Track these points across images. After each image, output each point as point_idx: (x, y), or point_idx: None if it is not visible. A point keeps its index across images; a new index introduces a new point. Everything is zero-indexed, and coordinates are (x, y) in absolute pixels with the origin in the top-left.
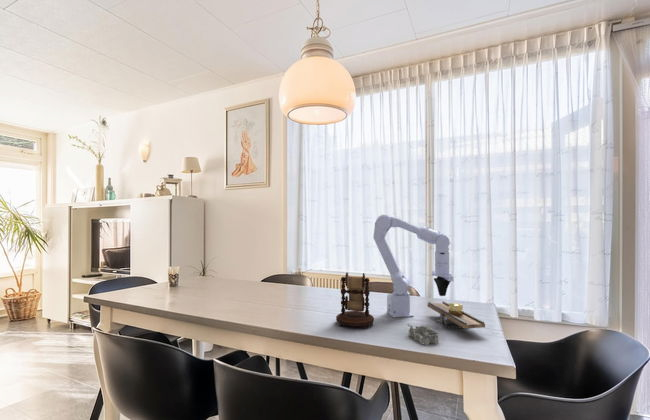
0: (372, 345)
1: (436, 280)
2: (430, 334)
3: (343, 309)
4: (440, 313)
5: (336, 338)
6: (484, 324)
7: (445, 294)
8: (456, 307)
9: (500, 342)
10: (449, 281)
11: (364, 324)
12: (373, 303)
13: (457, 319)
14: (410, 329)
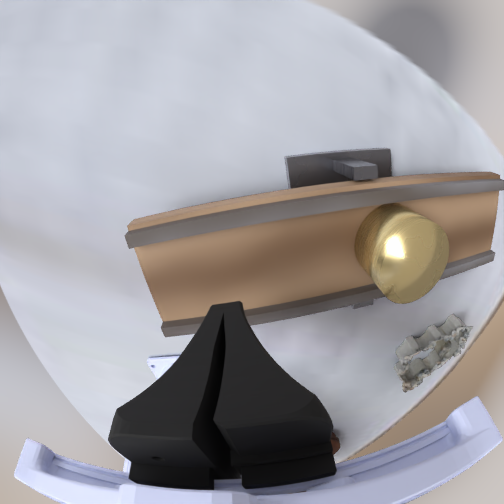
0: (414, 407)
1: (239, 474)
2: (431, 333)
3: None
4: (355, 308)
5: (367, 443)
6: (498, 177)
7: (242, 308)
8: (439, 268)
9: (494, 147)
10: (319, 410)
11: (338, 440)
12: (85, 404)
13: (462, 270)
14: (412, 379)
